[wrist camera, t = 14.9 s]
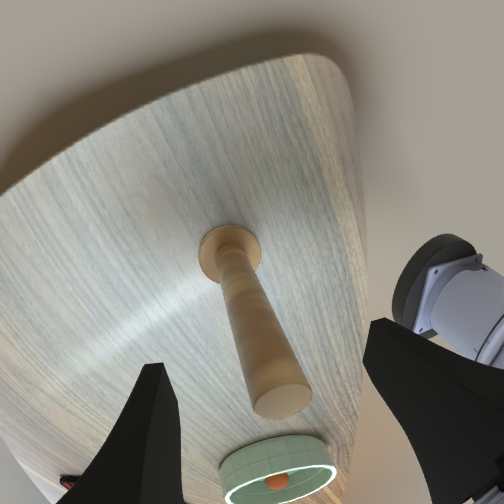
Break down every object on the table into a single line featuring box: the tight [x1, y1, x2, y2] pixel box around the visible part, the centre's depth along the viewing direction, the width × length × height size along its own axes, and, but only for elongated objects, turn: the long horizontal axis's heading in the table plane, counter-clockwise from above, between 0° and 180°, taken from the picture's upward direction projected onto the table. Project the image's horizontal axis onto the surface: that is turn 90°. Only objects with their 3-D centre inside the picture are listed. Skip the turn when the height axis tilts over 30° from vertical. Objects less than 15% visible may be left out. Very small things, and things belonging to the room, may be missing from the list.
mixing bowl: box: [219, 435, 337, 504], centre depth 27 cm, size 13×13×4 cm
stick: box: [199, 225, 312, 420], centre depth 13 cm, size 4×4×11 cm
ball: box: [265, 472, 289, 490], centre depth 28 cm, size 3×3×3 cm
